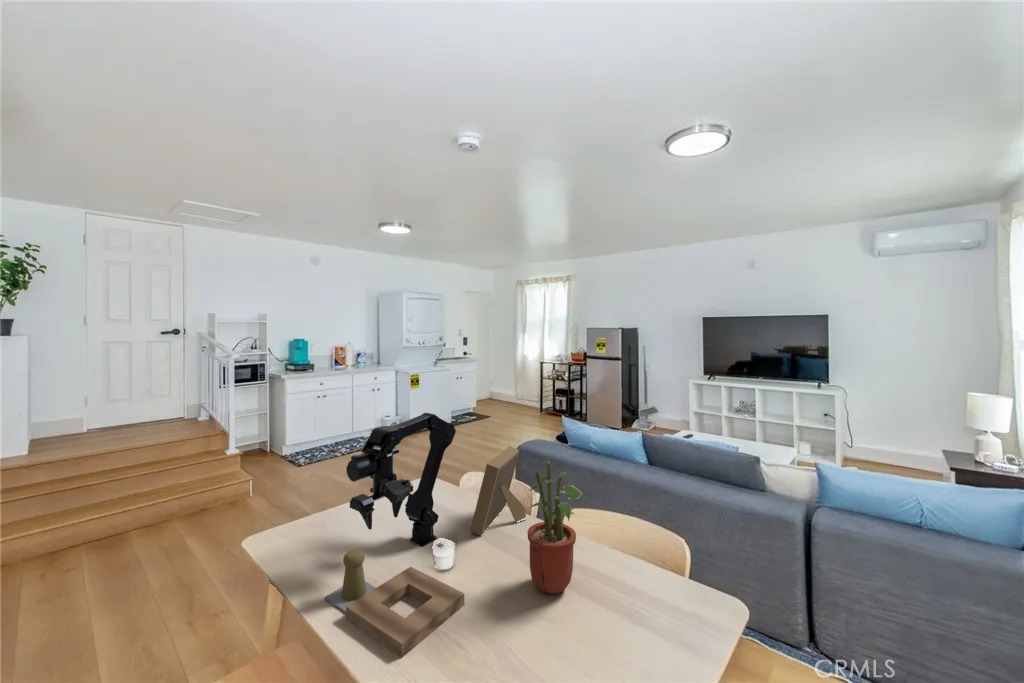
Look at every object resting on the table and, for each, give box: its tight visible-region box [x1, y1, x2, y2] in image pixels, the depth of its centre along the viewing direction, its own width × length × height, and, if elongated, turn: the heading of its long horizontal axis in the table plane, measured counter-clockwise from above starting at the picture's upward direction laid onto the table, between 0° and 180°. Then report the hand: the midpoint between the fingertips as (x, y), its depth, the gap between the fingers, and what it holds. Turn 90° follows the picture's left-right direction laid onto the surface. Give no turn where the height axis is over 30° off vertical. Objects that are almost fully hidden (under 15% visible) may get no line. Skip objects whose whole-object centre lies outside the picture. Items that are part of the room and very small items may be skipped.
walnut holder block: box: [345, 566, 465, 658], centre depth 99 cm, size 20×20×3 cm
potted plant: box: [524, 460, 584, 595], centre depth 111 cm, size 17×16×35 cm
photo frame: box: [470, 445, 527, 536], centre depth 144 cm, size 15×22×25 cm
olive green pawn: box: [342, 548, 366, 601], centre depth 105 cm, size 6×6×11 cm
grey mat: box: [323, 580, 377, 614], centre depth 105 cm, size 10×10×1 cm
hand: (383, 522), depth 120 cm, fingers open, 9 cm apart
